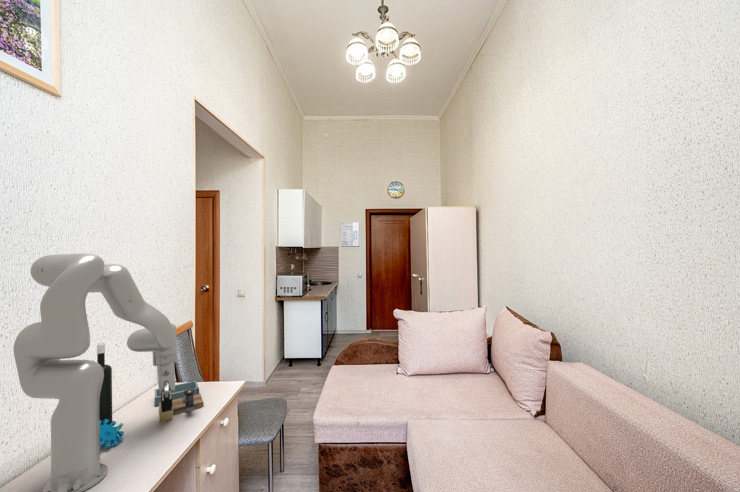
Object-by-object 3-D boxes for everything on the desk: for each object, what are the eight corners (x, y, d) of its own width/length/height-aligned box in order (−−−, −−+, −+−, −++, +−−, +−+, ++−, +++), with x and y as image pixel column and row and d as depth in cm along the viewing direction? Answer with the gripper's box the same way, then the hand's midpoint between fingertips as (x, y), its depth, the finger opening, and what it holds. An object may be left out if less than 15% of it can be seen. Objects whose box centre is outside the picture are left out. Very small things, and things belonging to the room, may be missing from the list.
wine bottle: (106, 434, 109) (105, 344, 110) (86, 437, 108) (85, 346, 109) (115, 425, 115) (114, 340, 116) (96, 428, 113) (96, 341, 114)
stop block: (172, 420, 117) (172, 403, 117) (159, 423, 115) (159, 406, 115) (172, 416, 120) (171, 399, 121) (159, 419, 118) (158, 402, 118)
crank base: (203, 407, 127) (203, 401, 127) (173, 415, 121) (173, 409, 121) (200, 398, 135) (200, 393, 135) (172, 405, 129) (172, 399, 130)
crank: (182, 400, 128) (181, 382, 129) (192, 397, 130) (192, 379, 131) (184, 412, 117) (184, 393, 118) (195, 409, 119) (195, 390, 120)
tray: (199, 396, 137) (198, 388, 137) (154, 407, 129) (154, 398, 129) (196, 388, 146) (196, 380, 146) (154, 397, 137) (154, 389, 137)
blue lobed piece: (103, 450, 97) (85, 424, 99) (89, 465, 96) (70, 439, 98) (134, 435, 108) (116, 412, 109) (121, 448, 107) (104, 425, 109)
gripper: (178, 362, 113) (180, 411, 113) (175, 350, 128) (177, 394, 128) (152, 367, 109) (154, 418, 109) (152, 354, 124) (154, 400, 123)
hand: (166, 405), depth 118 cm, fingers open, 9 cm apart
